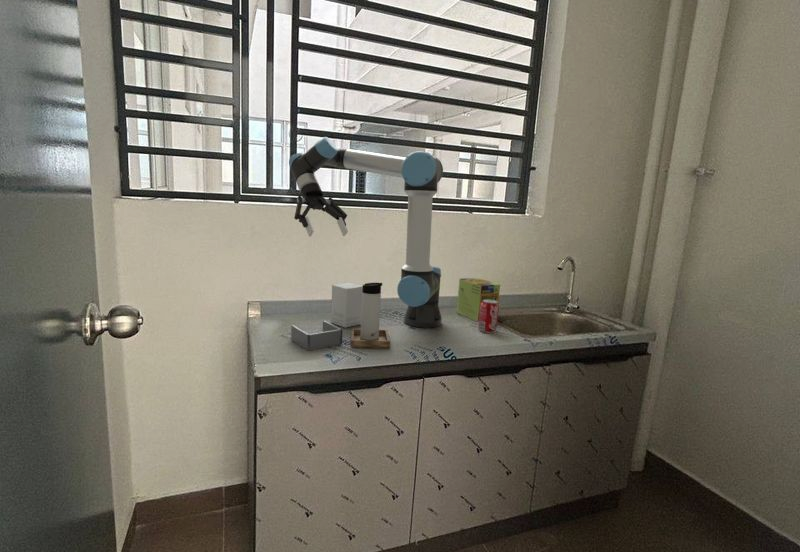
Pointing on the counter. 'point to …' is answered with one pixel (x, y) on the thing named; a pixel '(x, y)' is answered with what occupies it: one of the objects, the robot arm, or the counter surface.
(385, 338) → the tray
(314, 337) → the bay
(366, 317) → the travel mug
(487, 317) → the soda can
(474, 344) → the counter surface
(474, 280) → the protein box
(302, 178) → the robot arm
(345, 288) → the supplement box
